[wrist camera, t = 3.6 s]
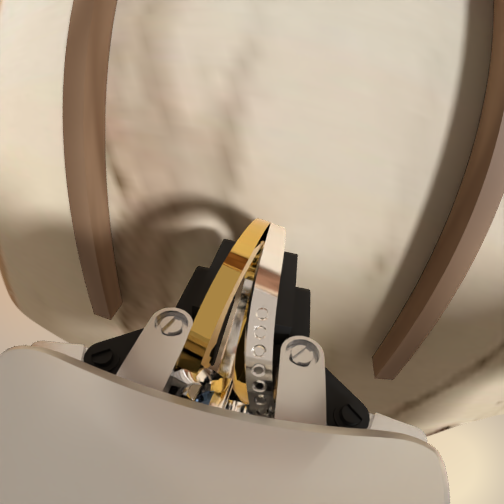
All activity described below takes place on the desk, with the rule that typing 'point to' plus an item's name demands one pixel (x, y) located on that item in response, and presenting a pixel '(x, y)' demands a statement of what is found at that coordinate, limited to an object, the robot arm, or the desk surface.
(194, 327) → the ring
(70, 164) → the channel
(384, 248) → the desk surface
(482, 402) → the desk surface
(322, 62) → the desk surface
